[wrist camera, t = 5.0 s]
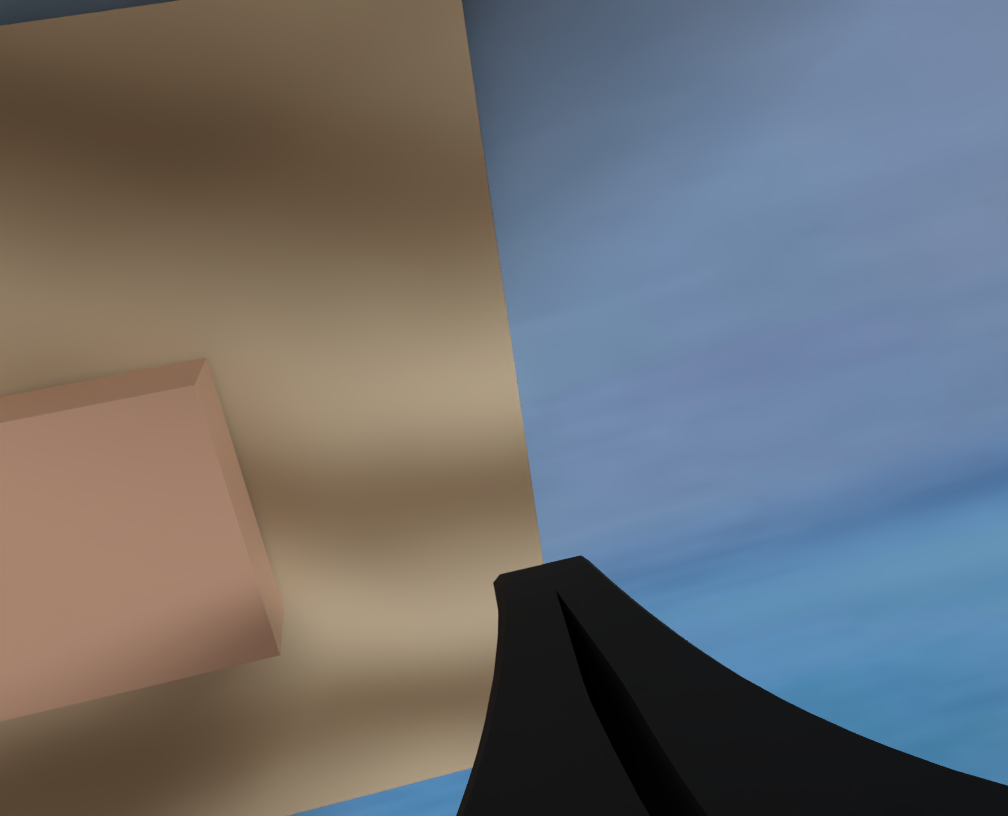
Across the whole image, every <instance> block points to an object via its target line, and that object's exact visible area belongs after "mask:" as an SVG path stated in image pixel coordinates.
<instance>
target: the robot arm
mask: <svg viewBox="0 0 1008 816" xmlns="http://www.w3.org/2000/svg"><path fill="white" fill-rule="evenodd" d="M493 585H494V591H495V596H496V602H497V608H498V638H497V648H496V657H495V667H494V675H493V681H492V686H491V692H490V697H489V702H488V707H487V713H486V718H485V723H484V727H483V731H482V735H481V739H480V743H479V747H478V750H477V754H476V757H475V761H474V764H473V768H472V771H471V775H470V778H469V781H468V784H467V787H466V790H465V792H464V795H463V798H462V801H461V804H460V807H459V810H458V813H457V815H456V816H1008V786H1007V785H1003V784H1000V783H997V782H993V781H990V780H986V779H983V778H979V777H976V776H973V775H969V774H966V773H962V772H959V771H955V770H952V769H949V768H946V767H943V766H940V765H938V764H935V763H932V762H929V761H927V760H924V759H921V758H918V757H915V756H913V755H910V754H907V753H904V752H902V751H899V750H896V749H893V748H891V747H888V746H886V745H883V744H881V743H878V742H875V741H873V740H870V739H868V738H865V737H863V736H860V735H858V734H856V733H853V732H851V731H849V730H847V729H844V728H842V727H840V726H838V725H836V724H833V723H831V722H829V721H827V720H824V719H822V718H820V717H818V716H816V715H813V714H811V713H809V712H807V711H805V710H803V709H801V708H799V707H797V706H795V705H793V704H791V703H789V702H787V701H785V700H783V699H781V698H779V697H777V696H775V695H774V694H772V693H770V692H768V691H766V690H764V689H763V688H761V687H759V686H757V685H755V684H754V683H752V682H750V681H748V680H746V679H745V678H743V677H741V676H740V675H738V674H736V673H735V672H733V671H732V670H730V669H728V668H727V667H725V666H724V665H722V664H721V663H719V662H718V661H716V660H715V659H713V658H712V657H710V656H709V655H707V654H706V653H704V652H703V651H701V650H700V649H698V648H697V647H695V646H694V645H692V644H691V643H689V642H688V641H687V640H685V639H684V638H682V637H681V636H680V635H678V634H677V633H676V632H674V631H673V630H672V629H670V628H669V627H668V626H666V625H665V624H664V623H662V622H661V621H660V620H658V619H657V618H656V617H655V616H653V615H652V614H651V613H649V612H648V611H647V610H646V609H644V608H643V607H642V606H641V605H639V604H638V603H637V602H636V601H634V600H633V599H632V598H631V597H630V596H628V595H627V594H626V593H625V592H624V591H622V590H621V589H620V588H619V587H618V586H617V585H615V584H614V583H613V582H612V581H611V580H610V579H609V578H608V577H606V576H605V575H604V574H603V573H602V572H601V571H600V570H599V569H598V568H596V567H595V566H594V565H593V564H592V563H591V562H590V561H589V560H587V559H586V558H584V557H583V556H576V557H572V558H568V559H563V560H559V561H555V562H550V563H546V564H542V565H538V566H533V567H529V568H525V569H520V570H516V571H512V572H507V573H503V574H500V575H499V576H498V577H497V578H496V580H495V581H494V582H493Z"/></svg>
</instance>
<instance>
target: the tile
mask: <svg viewBox="0 0 1008 816" xmlns="http://www.w3.org/2000/svg"><path fill="white" fill-rule="evenodd" d="M283 619H284V609H283V606H282V602H281V599H280V596H279V593H278V589H277V586H276V583H275V580H274V576H273V573H272V570H271V566H270V563H269V560H268V557H267V553H266V550H265V547H264V544H263V540H262V537H261V534H260V531H259V527H258V524H257V521H256V518H255V514H254V511H253V508H252V505H251V501H250V498H249V495H248V492H247V488H246V485H245V482H244V479H243V475H242V472H241V469H240V465H239V462H238V459H237V456H236V452H235V449H234V446H233V443H232V439H231V436H230V433H229V430H228V426H227V423H226V420H225V417H224V413H223V410H222V407H221V404H220V400H219V397H218V394H217V391H216V387H215V384H214V381H213V378H212V374H211V371H210V368H209V365H208V361H207V358H200V359H195V360H190V361H185V362H180V363H174V364H169V365H164V366H159V367H154V368H148V369H143V370H138V371H133V372H128V373H122V374H117V375H112V376H107V377H102V378H96V379H91V380H86V381H81V382H76V383H70V384H65V385H60V386H55V387H50V388H44V389H39V390H34V391H29V392H24V393H18V394H13V395H8V396H3V397H0V722H1V721H5V720H9V719H13V718H18V717H22V716H26V715H30V714H34V713H39V712H43V711H47V710H51V709H56V708H60V707H64V706H68V705H72V704H77V703H81V702H85V701H89V700H94V699H98V698H102V697H106V696H110V695H115V694H119V693H123V692H127V691H132V690H136V689H140V688H144V687H148V686H153V685H157V684H161V683H165V682H170V681H174V680H178V679H182V678H186V677H191V676H195V675H199V674H203V673H208V672H212V671H216V670H220V669H224V668H229V667H233V666H237V665H241V664H246V663H250V662H254V661H258V660H262V659H267V658H271V657H275V656H279V655H280V652H281V641H282V630H283Z"/></svg>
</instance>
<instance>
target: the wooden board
mask: <svg viewBox="0 0 1008 816" xmlns="http://www.w3.org/2000/svg"><path fill="white" fill-rule="evenodd" d="M200 358H207V361H208V365H209V368H210V371H211V374H212V378H213V381H214V384H215V387H216V391H217V394H218V397H219V400H220V404H221V407H222V410H223V413H224V417H225V420H226V423H227V426H228V430H229V433H230V436H231V439H232V443H233V446H234V449H235V452H236V456H237V459H238V462H239V465H240V469H241V472H242V475H243V479H244V482H245V485H246V488H247V492H248V495H249V498H250V501H251V505H252V508H253V511H254V514H255V518H256V521H257V524H258V527H259V531H260V534H261V537H262V540H263V544H264V547H265V550H266V553H267V557H268V560H269V563H270V566H271V570H272V573H273V576H274V580H275V583H276V586H277V589H278V593H279V596H280V599H281V602H282V606H283V609H284V619H283V630H282V641H281V652H280V655H279V656H275V657H271V658H267V659H262V660H258V661H254V662H250V663H246V664H241V665H237V666H233V667H229V668H224V669H220V670H216V671H212V672H208V673H203V674H199V675H195V676H191V677H186V678H182V679H178V680H174V681H170V682H165V683H161V684H157V685H153V686H148V687H144V688H140V689H136V690H132V691H127V692H123V693H119V694H115V695H110V696H106V697H102V698H98V699H94V700H89V701H85V702H81V703H77V704H72V705H68V706H64V707H60V708H56V709H51V710H47V711H43V712H39V713H34V714H30V715H26V716H22V717H18V718H13V719H9V720H5V721H1V722H0V816H288V815H292V814H296V813H300V812H304V811H308V810H311V809H315V808H319V807H323V806H327V805H331V804H335V803H338V802H342V801H346V800H350V799H354V798H358V797H361V796H365V795H369V794H373V793H377V792H381V791H385V790H388V789H392V788H396V787H400V786H404V785H408V784H411V783H415V782H419V781H423V780H427V779H431V778H435V777H438V776H442V775H446V774H450V773H454V772H458V771H461V770H465V769H469V768H473V764H474V761H475V757H476V754H477V750H478V747H479V743H480V739H481V735H482V731H483V727H484V723H485V718H486V713H487V707H488V702H489V697H490V692H491V686H492V681H493V675H494V667H495V657H496V648H497V638H498V608H497V602H496V596H495V591H494V585H493V582H494V581H495V580H496V578H497V577H498V576H499V575H500V574H503V573H507V572H512V571H516V570H520V569H525V568H529V567H533V566H538V565H542V564H543V558H542V551H541V544H540V537H539V530H538V524H537V517H536V510H535V503H534V496H533V489H532V482H531V475H530V468H529V461H528V454H527V448H526V441H525V434H524V427H523V420H522V413H521V406H520V399H519V392H518V385H517V378H516V372H515V365H514V358H513V351H512V344H511V337H510V330H509V323H508V316H507V309H506V302H505V296H504V289H503V282H502V275H501V268H500V261H499V254H498V247H497V240H496V233H495V226H494V220H493V213H492V206H491V199H490V192H489V185H488V178H487V171H486V164H485V157H484V150H483V144H482V137H481V130H480V123H479V116H478V109H477V102H476V95H475V88H474V81H473V74H472V68H471V61H470V54H469V47H468V40H467V33H466V26H465V19H464V12H463V5H462V0H178V1H171V2H164V3H157V4H150V5H143V6H136V7H129V8H121V9H114V10H107V11H100V12H93V13H86V14H79V15H72V16H65V17H58V18H51V19H44V20H36V21H29V22H22V23H15V24H8V25H1V26H0V397H3V396H8V395H13V394H18V393H24V392H29V391H34V390H39V389H44V388H50V387H55V386H60V385H65V384H70V383H76V382H81V381H86V380H91V379H96V378H102V377H107V376H112V375H117V374H122V373H128V372H133V371H138V370H143V369H148V368H154V367H159V366H164V365H169V364H174V363H180V362H185V361H190V360H195V359H200Z"/></svg>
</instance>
